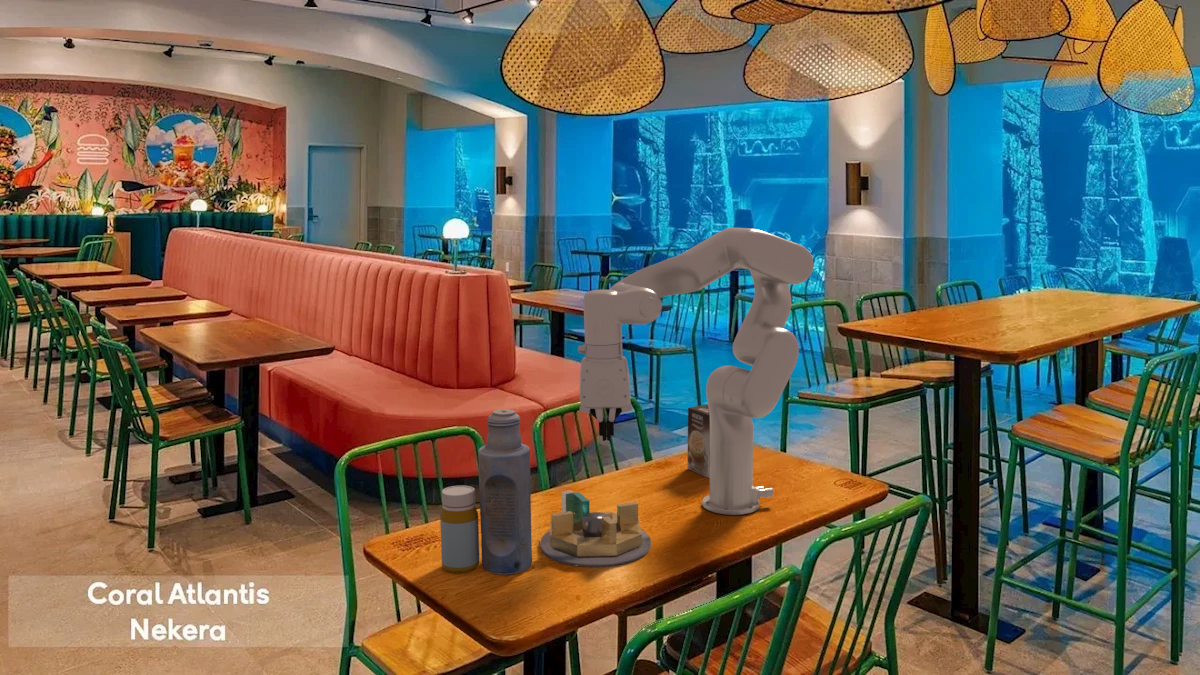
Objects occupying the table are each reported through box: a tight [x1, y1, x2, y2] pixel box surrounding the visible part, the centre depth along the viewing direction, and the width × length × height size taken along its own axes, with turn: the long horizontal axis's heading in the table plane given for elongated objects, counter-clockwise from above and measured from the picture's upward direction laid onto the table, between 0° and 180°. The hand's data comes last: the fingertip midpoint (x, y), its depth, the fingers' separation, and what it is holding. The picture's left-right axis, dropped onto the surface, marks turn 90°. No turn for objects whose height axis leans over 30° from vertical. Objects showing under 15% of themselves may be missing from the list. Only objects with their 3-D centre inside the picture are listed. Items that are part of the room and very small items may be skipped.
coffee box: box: [686, 403, 710, 479], centre depth 235 cm, size 9×6×16 cm
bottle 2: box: [477, 408, 533, 575], centre depth 177 cm, size 10×10×30 cm
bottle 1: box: [439, 485, 480, 574], centre depth 177 cm, size 7×7×15 cm
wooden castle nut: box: [549, 491, 642, 556], centre depth 189 cm, size 20×18×6 cm
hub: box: [540, 489, 652, 568], centre depth 188 cm, size 22×22×8 cm
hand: (606, 438), depth 194 cm, fingers closed
